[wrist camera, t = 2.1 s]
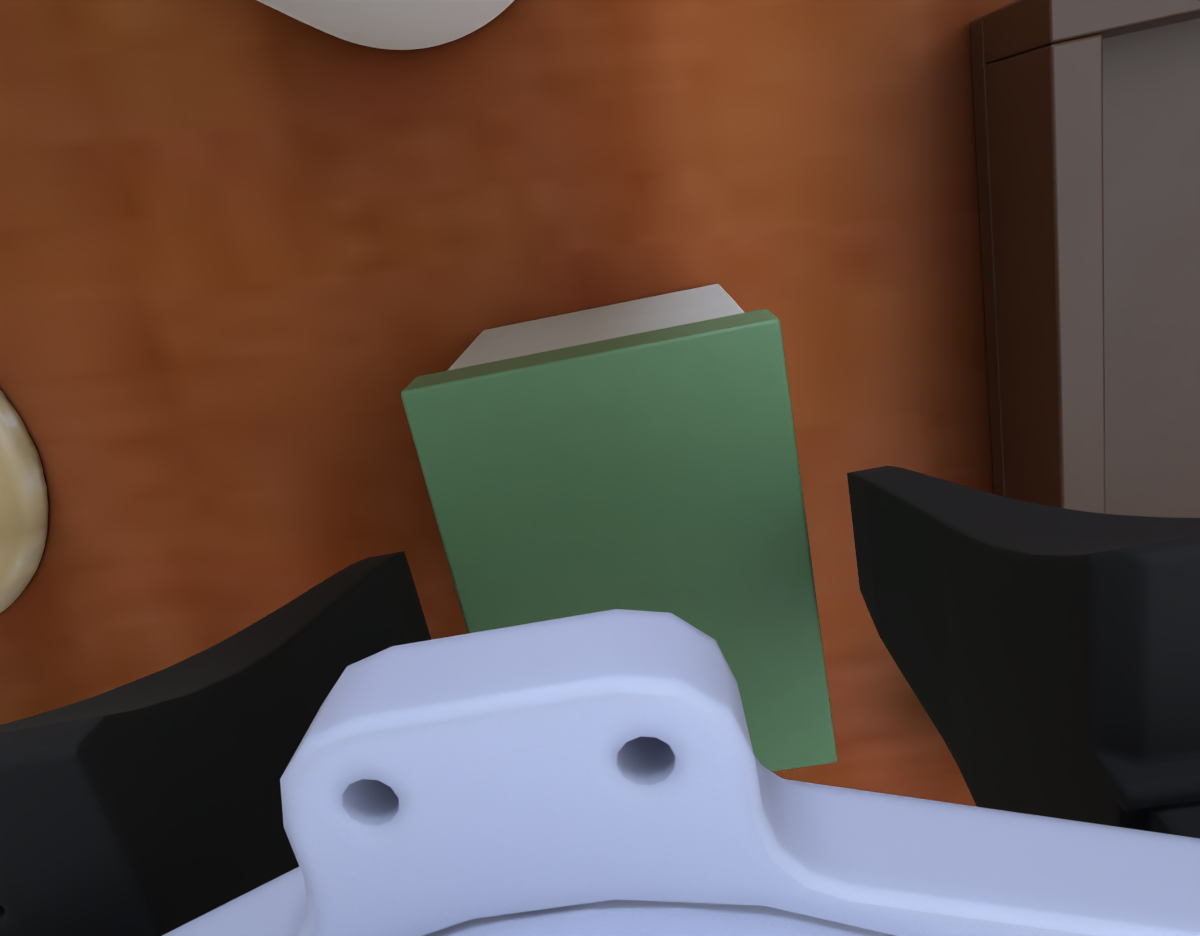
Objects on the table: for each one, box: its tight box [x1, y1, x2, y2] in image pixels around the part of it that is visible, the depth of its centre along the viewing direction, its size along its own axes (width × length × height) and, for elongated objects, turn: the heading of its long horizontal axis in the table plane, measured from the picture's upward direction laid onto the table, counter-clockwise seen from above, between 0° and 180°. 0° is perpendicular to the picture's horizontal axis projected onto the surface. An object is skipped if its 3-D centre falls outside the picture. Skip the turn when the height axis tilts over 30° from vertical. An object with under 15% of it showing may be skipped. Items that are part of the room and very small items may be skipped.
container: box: [401, 284, 837, 772], centre depth 16 cm, size 7×5×6 cm
